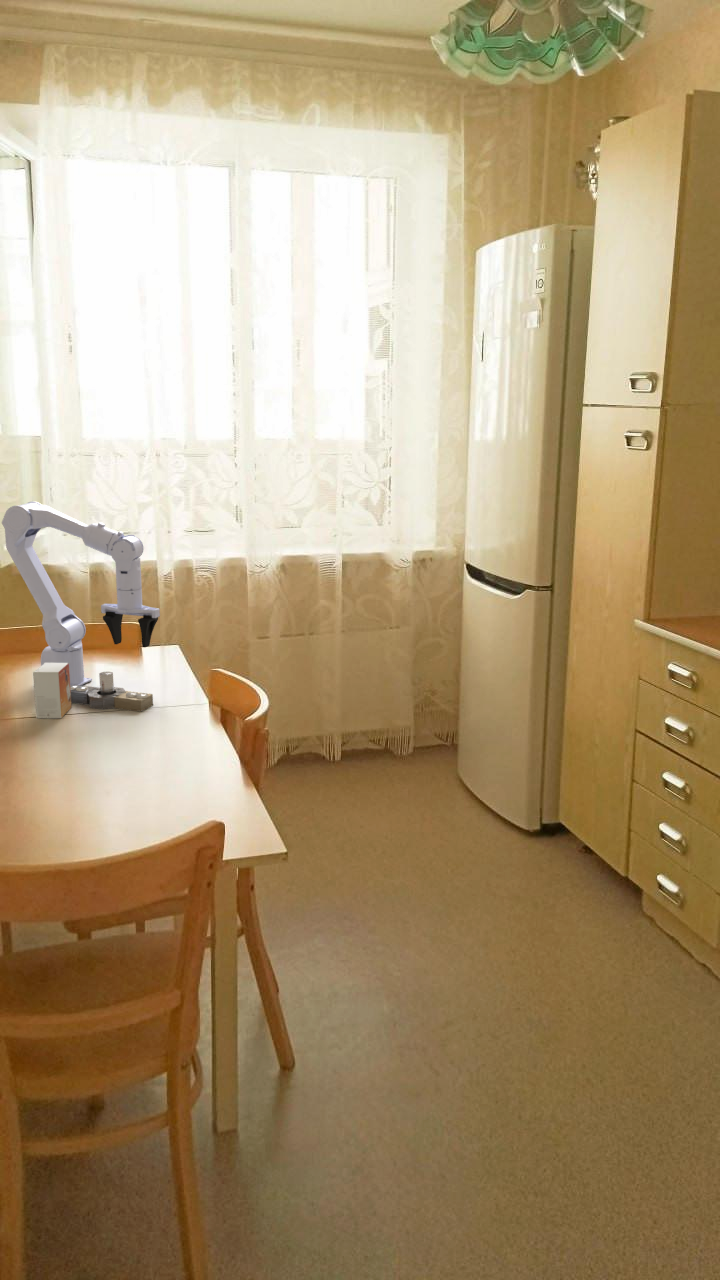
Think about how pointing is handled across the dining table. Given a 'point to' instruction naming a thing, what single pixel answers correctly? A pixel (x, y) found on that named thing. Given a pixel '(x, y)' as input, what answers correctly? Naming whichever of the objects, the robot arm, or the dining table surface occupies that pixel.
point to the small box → (52, 690)
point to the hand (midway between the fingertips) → (131, 644)
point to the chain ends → (110, 698)
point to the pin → (106, 683)
